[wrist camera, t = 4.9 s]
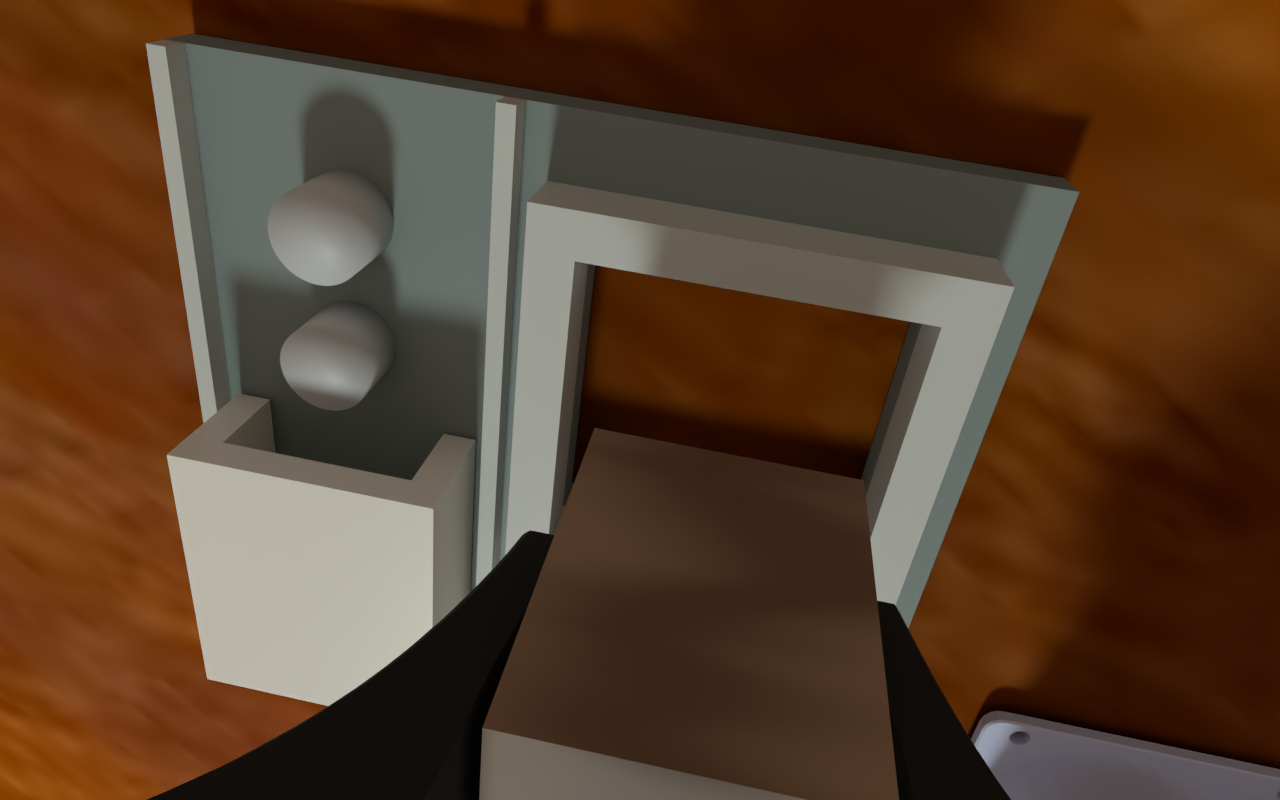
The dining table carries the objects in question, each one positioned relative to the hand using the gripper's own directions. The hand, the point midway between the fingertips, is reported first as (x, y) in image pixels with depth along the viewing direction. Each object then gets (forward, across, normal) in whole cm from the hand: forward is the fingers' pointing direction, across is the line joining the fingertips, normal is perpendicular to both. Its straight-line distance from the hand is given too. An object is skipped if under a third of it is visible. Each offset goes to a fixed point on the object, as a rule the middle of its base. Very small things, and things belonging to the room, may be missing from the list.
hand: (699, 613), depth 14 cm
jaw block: (+2, 0, 0) cm, 2 cm away
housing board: (+8, +4, +2) cm, 9 cm away
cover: (+6, +9, +5) cm, 12 cm away
